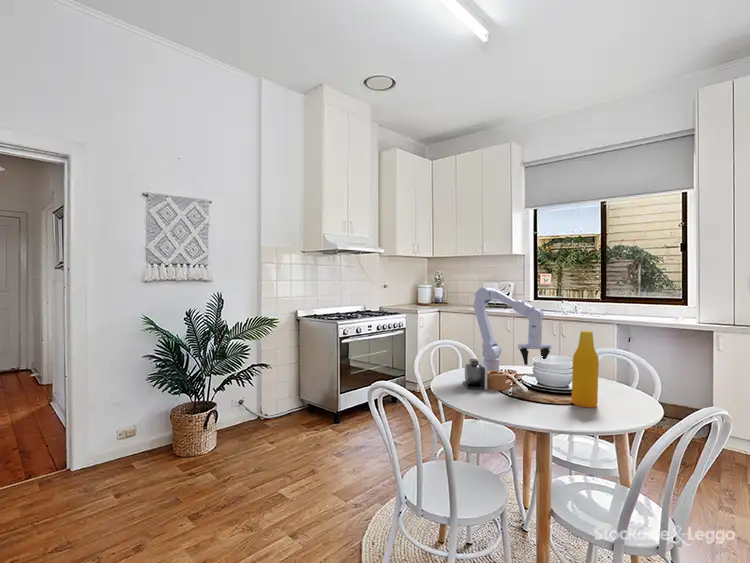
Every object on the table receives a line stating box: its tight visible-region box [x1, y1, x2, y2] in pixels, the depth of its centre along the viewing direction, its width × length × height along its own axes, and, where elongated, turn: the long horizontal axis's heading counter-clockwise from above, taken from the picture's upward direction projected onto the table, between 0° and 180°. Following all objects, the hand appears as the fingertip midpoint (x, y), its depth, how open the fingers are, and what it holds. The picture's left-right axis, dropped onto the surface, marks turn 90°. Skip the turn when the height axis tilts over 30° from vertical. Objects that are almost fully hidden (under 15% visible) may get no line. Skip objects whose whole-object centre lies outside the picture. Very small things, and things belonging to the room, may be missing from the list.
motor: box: [462, 358, 488, 391], centre depth 188 cm, size 12×8×12 cm, turn 1°
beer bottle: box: [571, 330, 600, 409], centre depth 165 cm, size 9×9×29 cm
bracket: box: [487, 370, 517, 391], centre depth 190 cm, size 18×8×7 cm, turn 135°
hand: (534, 364), depth 191 cm, fingers open, 7 cm apart
